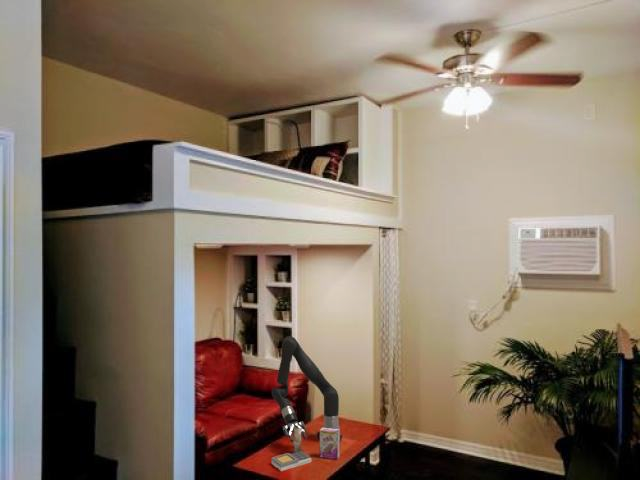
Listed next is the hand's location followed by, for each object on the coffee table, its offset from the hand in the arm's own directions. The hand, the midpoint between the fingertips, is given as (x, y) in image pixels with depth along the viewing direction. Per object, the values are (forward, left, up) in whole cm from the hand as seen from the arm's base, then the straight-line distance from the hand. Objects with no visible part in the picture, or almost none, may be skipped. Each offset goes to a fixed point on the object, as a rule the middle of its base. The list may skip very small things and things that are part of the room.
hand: (299, 440), depth 295 cm
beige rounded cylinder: (0, -2, -8) cm, 8 cm away
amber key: (+14, +8, -6) cm, 18 cm away
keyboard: (+10, +8, -8) cm, 15 cm away
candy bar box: (-12, +15, -8) cm, 21 cm away
